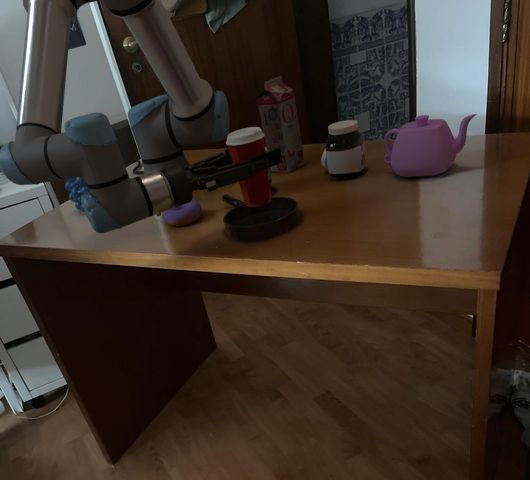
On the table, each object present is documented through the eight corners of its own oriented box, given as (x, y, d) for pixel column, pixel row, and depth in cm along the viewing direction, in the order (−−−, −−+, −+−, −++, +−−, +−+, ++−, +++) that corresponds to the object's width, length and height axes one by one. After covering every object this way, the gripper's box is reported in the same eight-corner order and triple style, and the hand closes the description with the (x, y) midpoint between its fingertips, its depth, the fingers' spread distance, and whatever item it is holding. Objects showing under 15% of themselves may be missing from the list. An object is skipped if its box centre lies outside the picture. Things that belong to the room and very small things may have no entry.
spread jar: (354, 181, 123) (349, 129, 117) (311, 182, 129) (304, 132, 123) (373, 164, 131) (369, 114, 125) (332, 165, 137) (326, 118, 131)
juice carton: (304, 163, 143) (291, 74, 131) (289, 172, 140) (273, 81, 128) (286, 163, 148) (271, 76, 135) (271, 171, 144) (254, 83, 132)
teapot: (377, 183, 119) (372, 129, 113) (392, 163, 129) (389, 112, 122) (471, 178, 110) (472, 119, 104) (480, 158, 119) (482, 102, 113)
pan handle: (220, 203, 127) (218, 195, 126) (230, 199, 128) (228, 191, 127) (240, 214, 118) (238, 205, 117) (251, 210, 119) (250, 201, 117)
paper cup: (283, 194, 110) (270, 124, 102) (264, 209, 105) (249, 137, 98) (252, 194, 114) (238, 127, 107) (233, 208, 109) (216, 139, 102)
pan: (215, 228, 117) (211, 215, 115) (277, 204, 121) (275, 191, 119) (246, 248, 104) (243, 233, 102) (314, 220, 109) (312, 206, 107)
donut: (156, 222, 126) (153, 202, 124) (190, 216, 131) (188, 196, 129) (175, 230, 119) (173, 209, 117) (210, 223, 124) (209, 202, 122)
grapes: (111, 208, 146) (94, 164, 139) (90, 217, 142) (72, 173, 136) (90, 204, 153) (73, 162, 147) (69, 213, 150) (52, 171, 143)
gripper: (156, 197, 110) (252, 163, 116) (190, 220, 94) (299, 179, 100) (144, 161, 106) (244, 128, 112) (178, 178, 90) (292, 139, 96)
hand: (270, 152), depth 106 cm, fingers closed on paper cup, 8 cm apart
